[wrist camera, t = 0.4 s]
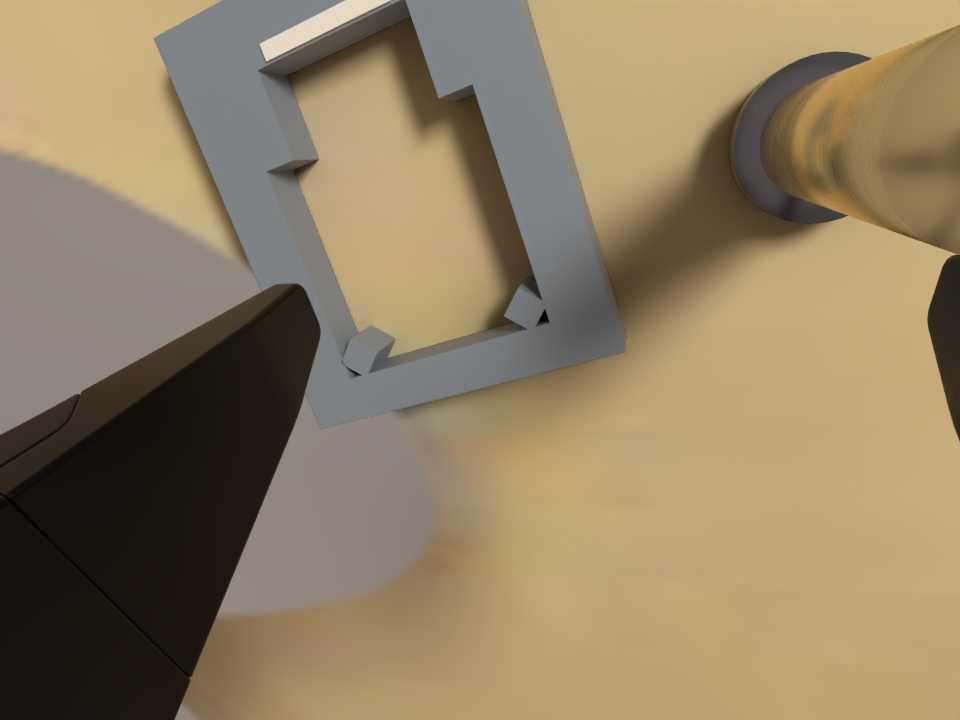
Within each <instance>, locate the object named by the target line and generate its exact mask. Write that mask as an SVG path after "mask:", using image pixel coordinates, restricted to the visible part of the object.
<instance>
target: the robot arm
mask: <svg viewBox="0 0 960 720" xmlns="http://www.w3.org/2000/svg"><path fill="white" fill-rule="evenodd" d="M928 329H929V333H930V337H931V341H932V345H933V349H934V353H935V356H936V360H937V364H938V368H939V372H940V376H941V380H942V384H943V388H944V392H945V396H946V400H947V404H948V408H949V411H950V415H951V418H952V422H953V425H954V428H955V430H956V433H957V436H958V438H959V441H960V255H953V256H951V257H950V258H948V259H947V260H946V262H945V263H944V265H943V267H942V270H941V273H940V276H939V279H938V282H937V285H936V288H935V291H934V294H933V298H932V301H931V304H930V307H929V310H928ZM320 336H321V329H320V324H319V321H318V319H317V316H316V314H315V312H314V309H313V307H312V304H311V302H310V300H309V297H308V295H307V292H306V290H305V289H304V288H303V286H301V285H300V284H298V283H287V284H276V285H273V286H271V287H270V288H268V289H266V290H264V291H262V292H261V293H259V294H257V295H255V296H253V297H251V298H250V299H248V300H246V301H244V302H242V303H241V304H239V305H237V306H235V307H234V308H232V309H230V310H228V311H226V312H224V313H223V314H221V315H219V316H217V317H215V318H213V319H212V320H210V321H208V322H206V323H204V324H203V325H201V326H199V327H197V328H196V329H194V330H192V331H190V332H188V333H186V334H185V335H183V336H181V337H179V338H177V339H176V340H174V341H172V342H170V343H168V344H166V345H165V346H163V347H161V348H159V349H157V350H156V351H154V352H152V353H150V354H148V355H147V356H145V357H143V358H141V359H139V360H138V361H136V362H134V363H132V364H130V365H128V366H127V367H125V368H123V369H121V370H119V371H118V372H116V373H114V374H112V375H110V376H109V377H107V378H105V379H103V380H101V381H99V382H98V383H96V384H94V385H92V386H90V387H89V388H87V389H85V390H83V391H82V392H81V394H76V395H74V396H72V397H70V398H69V399H67V400H65V401H63V402H61V403H59V404H58V405H56V406H54V407H52V408H51V409H48V410H47V411H45V412H43V413H41V414H39V415H37V416H36V417H34V418H32V419H30V420H28V421H26V422H24V423H22V424H21V425H19V426H17V427H15V428H13V429H11V430H9V431H7V432H5V433H3V434H1V435H0V720H175V717H176V715H177V712H178V709H179V707H180V705H181V702H182V700H183V698H184V695H185V693H186V690H187V688H188V685H189V683H190V678H189V677H191V676H192V675H193V672H194V670H195V667H196V665H197V662H198V660H199V658H200V655H201V653H202V650H203V648H204V645H205V643H206V640H207V638H208V636H209V633H210V631H211V628H212V626H213V623H214V621H215V618H216V616H217V614H218V611H219V609H220V606H221V604H222V601H223V598H224V596H225V594H226V591H227V589H228V587H229V584H230V582H231V579H232V577H233V574H234V572H235V569H236V567H237V565H238V562H239V560H240V557H241V555H242V552H243V550H244V547H245V545H246V542H247V540H248V538H249V535H250V533H251V530H252V528H253V525H254V523H255V521H256V518H257V516H258V513H259V511H260V508H261V506H262V503H263V501H264V499H265V496H266V494H267V491H268V489H269V486H270V484H271V481H272V479H273V476H274V474H275V472H276V469H277V466H278V464H279V462H280V459H281V457H282V454H283V452H284V449H285V447H286V445H287V442H288V439H289V437H290V435H291V432H292V430H293V427H294V425H295V422H296V419H297V417H298V414H299V411H300V408H301V405H302V401H303V398H304V395H305V391H306V387H307V384H308V380H309V377H310V373H311V370H312V366H313V363H314V359H315V355H316V352H317V348H318V345H319V341H320Z"/></svg>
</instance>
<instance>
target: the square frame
mask: <svg viewBox="0 0 960 720" xmlns="http://www.w3.org/2000/svg"><path fill="white" fill-rule="evenodd" d="M409 17H411V18H412V21H413V24H414V27H415V30H416V33H417V36H418V39H419V42H420V45H421V48H422V51H423V54H424V57H425V59H426V62H427V65H428V68H429V71H430V74H431V77H432V80H433V83H434V86H435V89H436V92H437V95H438V98H439V99H443V100H448V101H452V102H457V101H459V100H461V99H464V98H466V97H469V96H471V95H473V94H476V97H477V100H478V103H479V106H480V109H481V112H482V116H483V119H484V122H485V125H486V128H487V131H488V134H489V137H490V140H491V143H492V146H493V149H494V153H495V156H496V159H497V162H498V165H499V168H500V171H501V174H502V177H503V180H504V183H505V186H506V189H507V193H508V196H509V199H510V202H511V205H512V208H513V211H514V214H515V217H516V220H517V223H518V226H519V230H520V233H521V236H522V239H523V242H524V245H525V248H526V251H527V254H528V257H529V260H530V263H531V267H532V270H533V273H534V276H535V279H536V281H534V280H532V279H530V278H528V277H527V279H526V280H525V281H524V282H523V283H522V284H521V285H520V286H519V287H518V289H517V291H516V293H515V295H514V297H513V299H512V301H511V303H510V305H509V307H508V309H507V311H506V313H505V315H504V317H506V318H508V319H510V320H512V321H513V323H510V324H506V325H503V326H499V327H496V328H492V329H488V330H485V331H481V332H478V333H474V334H471V335H467V336H464V337H460V338H457V339H453V340H450V341H446V342H443V343H439V344H436V345H432V346H429V347H425V348H422V349H418V350H415V351H411V352H408V353H404V354H401V355H397V356H394V357H390V358H387V357H388V355H389V353H390V351H391V348H392V346H393V344H394V341H395V338H393V337H391V336H390V335H388V334H386V333H384V332H382V331H380V330H379V329H377V328H375V327H373V326H369V327H368V328H366V329H365V330H363V331H362V332H360V333H359V334H358V332H357V329H356V327H355V324H354V321H353V319H352V316H351V314H350V311H349V309H348V306H347V304H346V301H345V299H344V296H343V294H342V291H341V289H340V286H339V284H338V281H337V279H336V276H335V274H334V271H333V269H332V266H331V264H330V261H329V259H328V256H327V254H326V251H325V249H324V246H323V243H322V241H321V238H320V236H319V233H318V231H317V228H316V226H315V223H314V221H313V218H312V216H311V213H310V211H309V208H308V206H307V203H306V201H305V198H304V196H303V193H302V191H301V188H300V186H299V183H298V181H297V178H296V176H295V173H294V171H293V170H294V169H297V168H299V167H301V166H304V165H306V164H308V163H311V162H313V161H316V160H318V159H319V158H318V155H317V153H316V150H315V147H314V145H313V142H312V140H311V137H310V134H309V132H308V129H307V127H306V124H305V122H304V119H303V116H302V114H301V111H300V109H299V106H298V103H297V101H296V98H295V96H294V93H293V91H292V88H291V85H290V83H289V80H288V78H287V75H289V74H292V73H294V72H296V71H298V70H300V69H302V68H304V67H306V66H308V65H310V64H312V63H315V62H317V61H319V60H321V59H323V58H325V57H327V56H329V55H331V54H333V53H335V52H338V51H340V50H342V49H344V48H346V47H348V46H350V45H352V44H354V43H356V42H358V41H361V40H363V39H365V38H367V37H369V36H371V35H373V34H375V33H377V32H379V31H381V30H384V29H386V28H388V27H390V26H392V25H394V24H396V23H398V22H400V21H402V20H404V19H407V18H409ZM154 41H155V43H156V45H157V48H158V50H159V52H160V55H161V57H162V59H163V62H164V64H165V66H166V69H167V71H168V73H169V76H170V78H171V80H172V83H173V85H174V87H175V90H176V92H177V94H178V97H179V99H180V102H181V104H182V106H183V109H184V111H185V113H186V116H187V118H188V120H189V123H190V125H191V127H192V130H193V132H194V134H195V137H196V139H197V141H198V144H199V146H200V148H201V151H202V153H203V155H204V158H205V160H206V162H207V165H208V167H209V169H210V172H211V174H212V176H213V179H214V181H215V183H216V186H217V188H218V191H219V193H220V195H221V198H222V200H223V202H224V205H225V207H226V209H227V212H228V214H229V216H230V219H231V221H232V223H233V226H234V228H235V230H236V233H237V235H238V237H239V240H240V242H241V244H242V247H243V249H244V251H245V254H246V256H247V258H248V261H249V263H250V265H251V268H252V270H253V273H254V275H255V277H256V280H257V282H258V284H259V287H260V289H261V291H264V290H266V289H268V288H270V287H271V286H273V285H276V284H287V283H298V284H300V285H301V286H303V288H304V289H305V290H306V292H307V295H308V297H309V300H310V302H311V304H312V307H313V309H314V312H315V314H316V316H317V319H318V321H319V324H320V329H321V336H320V341H319V345H318V348H317V352H316V355H315V359H314V363H313V366H312V370H311V373H310V377H309V380H308V384H307V387H306V391H305V394H306V396H307V399H308V401H309V404H310V406H311V408H312V411H313V413H314V415H315V418H316V420H317V422H318V424H319V427H320V429H323V428H327V427H331V426H335V425H339V424H343V423H347V422H351V421H355V420H359V419H363V418H367V417H371V416H375V415H379V414H383V413H387V412H391V411H395V410H398V409H402V408H406V407H410V406H414V405H418V404H422V403H426V402H430V401H434V400H438V399H442V398H446V397H450V396H454V395H458V394H462V393H465V392H469V391H473V390H477V389H481V388H485V387H489V386H493V385H497V384H501V383H505V382H509V381H513V380H517V379H521V378H525V377H529V376H532V375H536V374H540V373H544V372H548V371H552V370H556V369H560V368H564V367H568V366H572V365H576V364H580V363H584V362H588V361H592V360H596V359H600V358H603V357H607V356H611V355H615V354H619V353H623V352H625V346H626V337H627V336H626V333H625V330H624V326H623V323H622V320H621V316H620V313H619V310H618V306H617V303H616V299H615V296H614V293H613V289H612V286H611V283H610V279H609V276H608V273H607V269H606V266H605V262H604V259H603V256H602V252H601V249H600V246H599V242H598V239H597V236H596V232H595V229H594V225H593V222H592V219H591V215H590V212H589V209H588V205H587V202H586V199H585V195H584V192H583V188H582V185H581V182H580V178H579V175H578V172H577V168H576V165H575V162H574V158H573V155H572V152H571V148H570V145H569V141H568V138H567V135H566V131H565V128H564V125H563V121H562V118H561V115H560V111H559V108H558V104H557V101H556V98H555V94H554V91H553V88H552V84H551V81H550V78H549V74H548V71H547V67H546V64H545V61H544V57H543V54H542V51H541V47H540V44H539V41H538V37H537V34H536V31H535V27H534V24H533V20H532V17H531V14H530V10H529V7H528V4H527V0H222V1H220V2H219V3H217V4H215V5H213V6H211V7H210V8H208V9H206V10H204V11H202V12H200V13H199V14H197V15H195V16H193V17H191V18H189V19H188V20H186V21H184V22H182V23H180V24H178V25H177V26H175V27H173V28H171V29H169V30H168V31H166V32H164V33H162V34H160V35H158V36H157V37H155V38H154ZM545 310H546V313H545V314H544V312H545Z"/></svg>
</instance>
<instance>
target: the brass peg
mask: <svg viewBox="0 0 960 720" xmlns="http://www.w3.org/2000/svg"><path fill="white" fill-rule="evenodd" d="M729 161H730V165H731V170H732V173H733V176H734V178H735V180H736V182H737V184H738V186H739V188H740V189H741V190H742V192H743V193H744V194H745V196H746V197H748V198H749V199H750V200H751V201H752V202H753V203H754V204H756V205H757V206H758V207H760V208H762V209H763V210H765V211H767V212H769V213H771V214H772V215H774V216H776V217H779V218H782V219H784V220H788V221H792V222H798V223H822V222H829V221H833V220H836V219H840V218H843V217H845V216H851V217H854V218H857V219H859V220H862V221H865V222H868V223H871V224H873V225H876V226H879V227H882V228H885V229H888V230H890V231H893V232H896V233H899V234H902V235H905V236H907V237H910V238H913V239H916V240H919V241H922V242H924V243H927V244H930V245H933V246H936V247H938V248H941V249H944V250H947V251H950V252H953V253H956V254H960V25H959V26H956V27H953V28H951V29H948V30H946V31H943V32H941V33H938V34H935V35H933V36H930V37H928V38H925V39H922V40H920V41H917V42H915V43H912V44H909V45H907V46H904V47H902V48H899V49H897V50H894V51H891V52H889V53H886V54H884V55H881V56H878V57H876V58H873V59H871V58H869V57H866V56H863V55H860V54H855V53H849V52H827V53H820V54H816V55H811V56H808V57H805V58H803V59H800V60H798V61H795V62H793V63H791V64H789V65H787V66H786V67H784V68H782V69H780V70H779V71H777V72H776V73H774V74H772V75H771V76H769V77H768V78H767V79H766V80H764V81H763V82H762V83H761V84H759V86H758V87H757V88H756V89H755V90H754V91H753V92H752V93H751V94H750V95H749V97H748V98H747V99H746V100H745V102H744V103H743V105H742V107H741V108H740V110H739V112H738V114H737V116H736V118H735V121H734V124H733V127H732V130H731V135H730V140H729Z"/></svg>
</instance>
